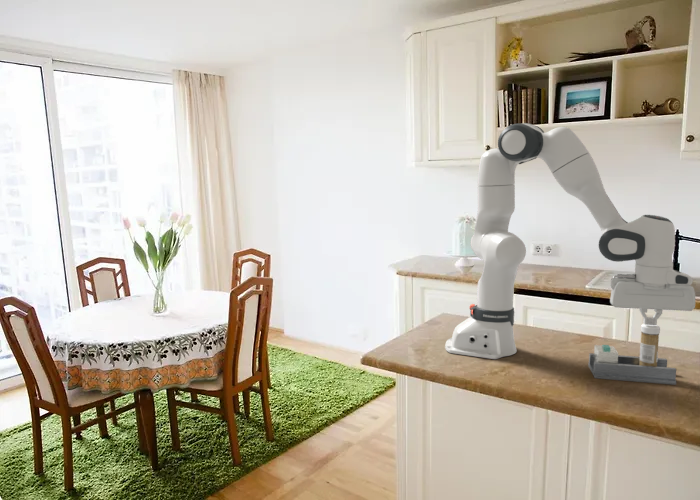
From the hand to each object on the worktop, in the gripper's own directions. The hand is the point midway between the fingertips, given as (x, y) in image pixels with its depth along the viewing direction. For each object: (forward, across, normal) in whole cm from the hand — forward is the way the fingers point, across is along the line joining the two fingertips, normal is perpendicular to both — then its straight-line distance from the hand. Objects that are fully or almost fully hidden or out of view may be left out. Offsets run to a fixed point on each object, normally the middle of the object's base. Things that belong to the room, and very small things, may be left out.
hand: (649, 324), depth 144 cm
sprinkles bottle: (+14, 0, 0) cm, 14 cm away
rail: (+15, -4, 0) cm, 15 cm away
